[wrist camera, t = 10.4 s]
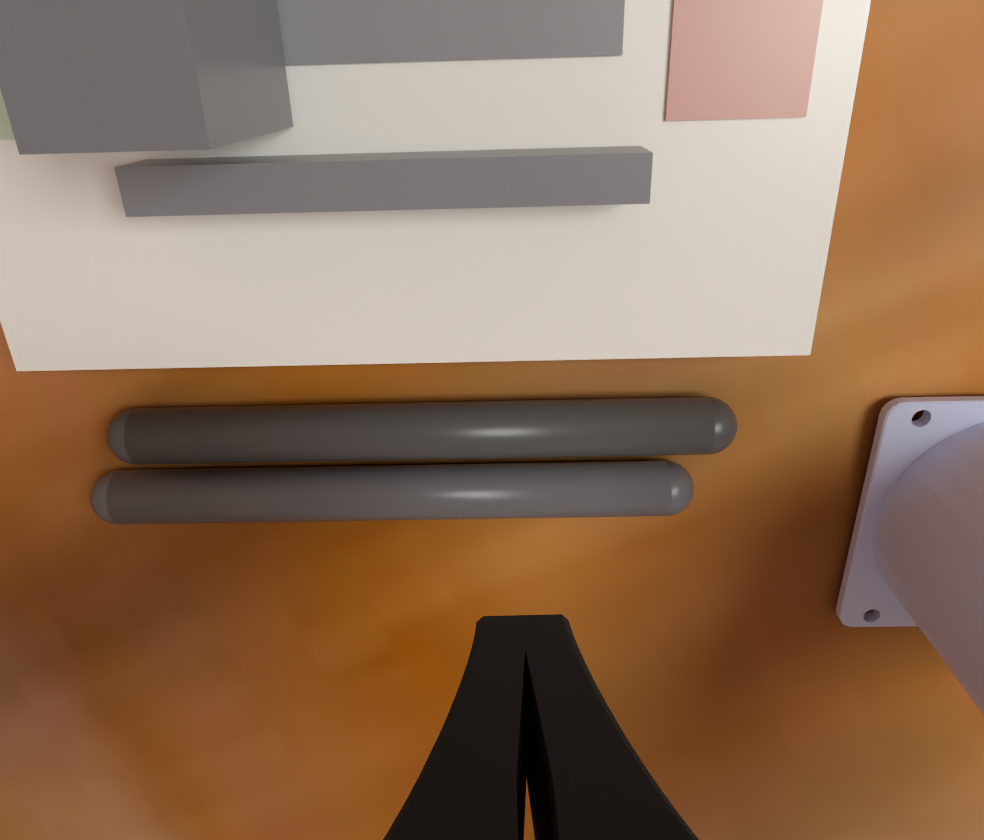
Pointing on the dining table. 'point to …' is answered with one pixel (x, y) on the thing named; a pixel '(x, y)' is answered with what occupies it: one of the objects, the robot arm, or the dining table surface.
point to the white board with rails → (450, 249)
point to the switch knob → (141, 74)
